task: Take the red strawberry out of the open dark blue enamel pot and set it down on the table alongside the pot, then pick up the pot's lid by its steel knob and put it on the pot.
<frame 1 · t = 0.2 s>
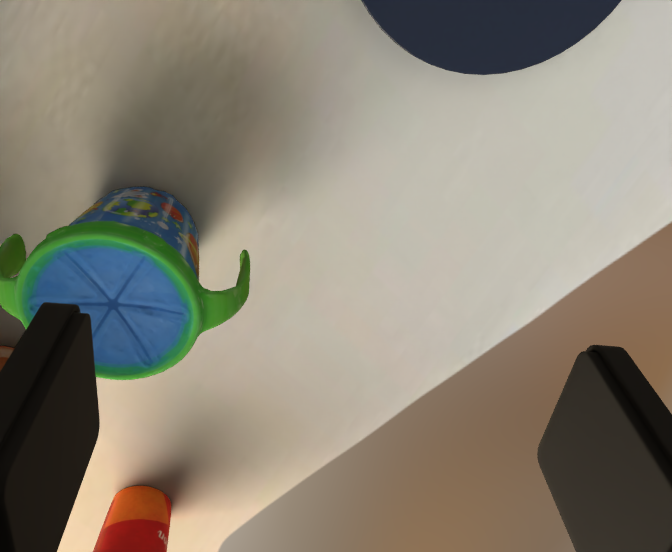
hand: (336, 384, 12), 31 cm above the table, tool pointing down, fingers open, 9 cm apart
paper cup: (143, 502, 60), on the table
snack cup: (146, 229, 45), on the table
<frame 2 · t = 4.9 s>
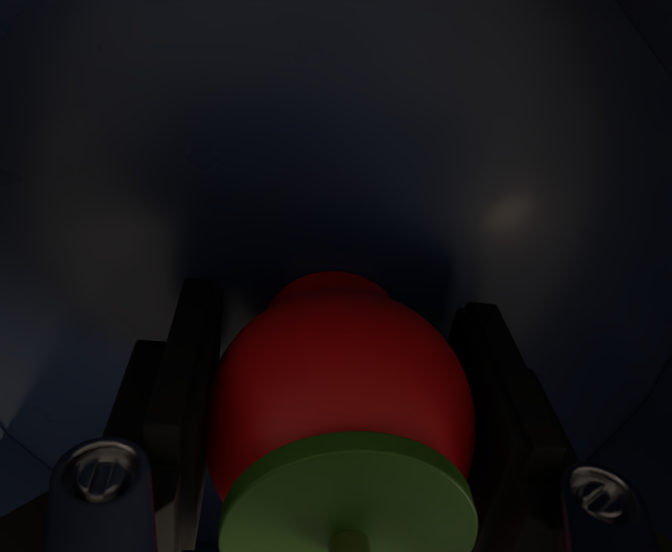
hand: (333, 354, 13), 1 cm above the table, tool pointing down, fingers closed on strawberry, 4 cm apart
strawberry: (331, 328, 13), point 1 cm above the table, touching gripper, pot
pot: (330, 314, 14), on the table
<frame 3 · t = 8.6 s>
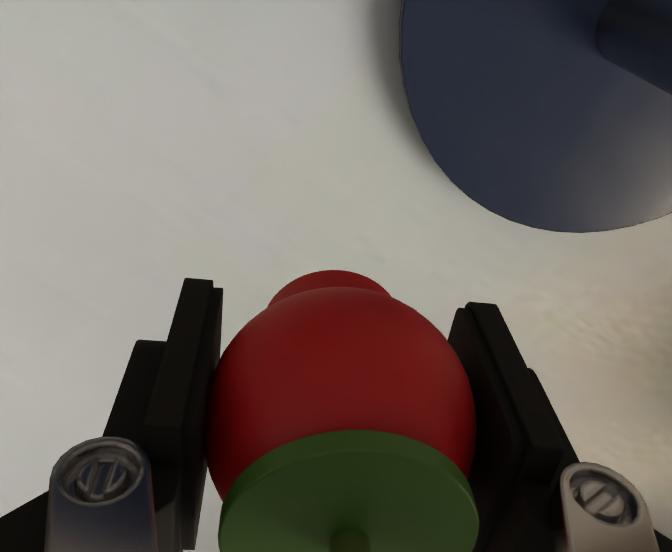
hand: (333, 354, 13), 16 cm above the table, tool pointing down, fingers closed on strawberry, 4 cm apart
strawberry: (331, 327, 13), point 15 cm above the table, touching gripper
lid: (626, 23, 25), point 1 cm above the table
when the fingers open (1 cm above the table, at t = 12.4 s): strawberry stays where it is, on the table.
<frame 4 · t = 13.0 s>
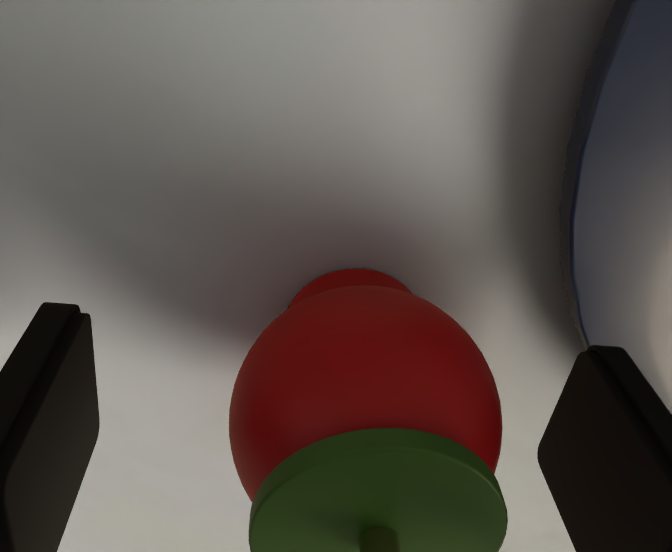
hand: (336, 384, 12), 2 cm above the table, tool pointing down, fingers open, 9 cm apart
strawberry: (352, 325, 14), on the table
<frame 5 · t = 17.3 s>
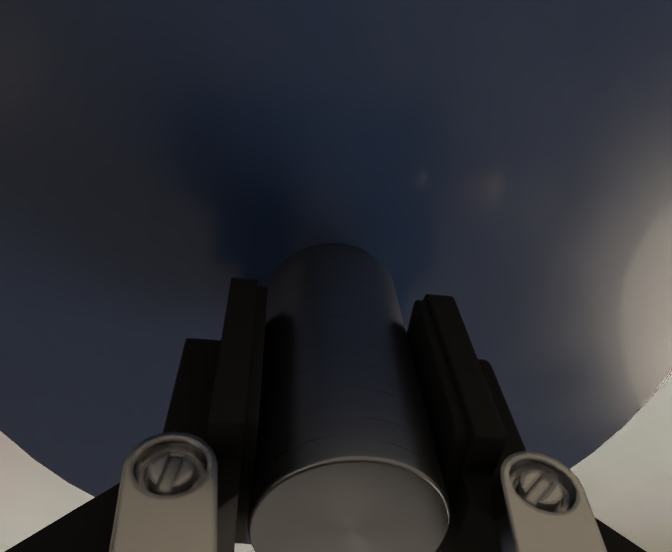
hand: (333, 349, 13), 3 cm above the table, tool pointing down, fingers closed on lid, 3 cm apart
lid: (329, 286, 15), point 1 cm above the table, touching gripper
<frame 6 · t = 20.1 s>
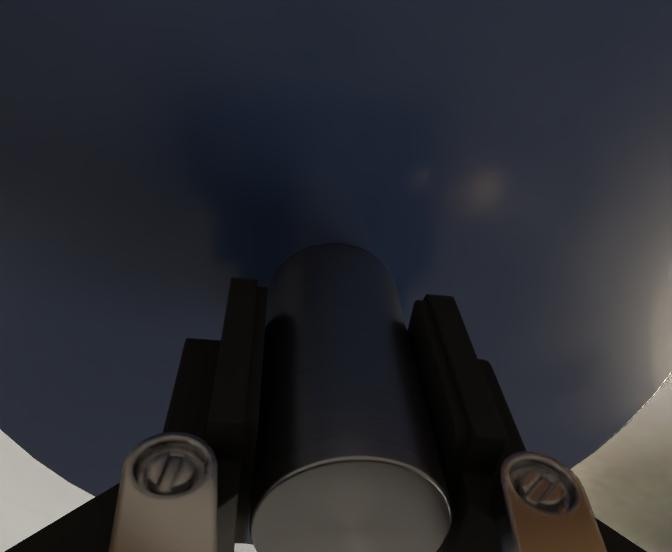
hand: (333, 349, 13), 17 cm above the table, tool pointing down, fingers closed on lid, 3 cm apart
lid: (330, 286, 15), point 15 cm above the table, touching gripper
when the fingers open (8 cm above the table, at t = 23.1 s): lid stays where it is, resting on pot.
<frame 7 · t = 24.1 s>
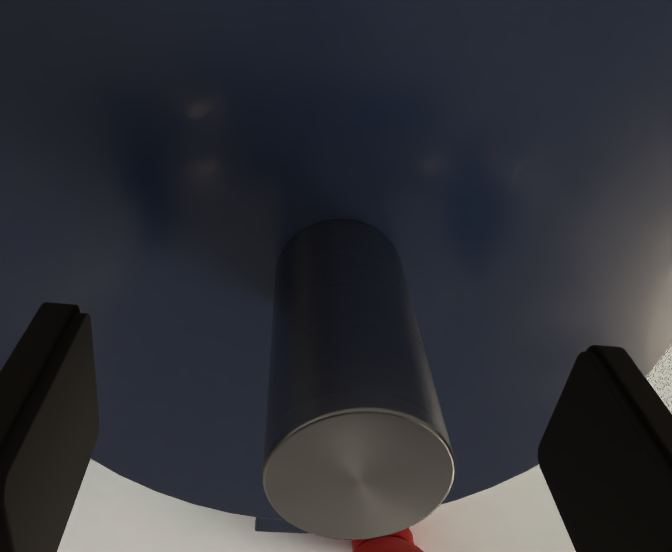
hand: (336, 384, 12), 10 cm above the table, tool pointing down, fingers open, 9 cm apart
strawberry: (382, 538, 31), on the table
pot: (324, 174, 20), on the table
lid: (337, 262, 15), point 6 cm above the table, touching pot
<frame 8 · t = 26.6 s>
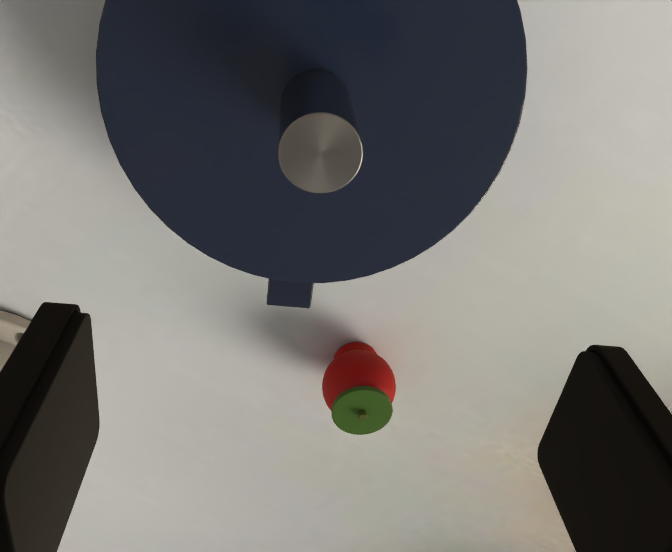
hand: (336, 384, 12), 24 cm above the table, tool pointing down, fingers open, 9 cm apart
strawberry: (355, 358, 43), on the table
pot: (310, 71, 33), on the table
lid: (315, 100, 27), point 6 cm above the table, touching pot
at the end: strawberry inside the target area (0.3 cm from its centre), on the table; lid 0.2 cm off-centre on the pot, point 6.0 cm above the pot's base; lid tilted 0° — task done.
